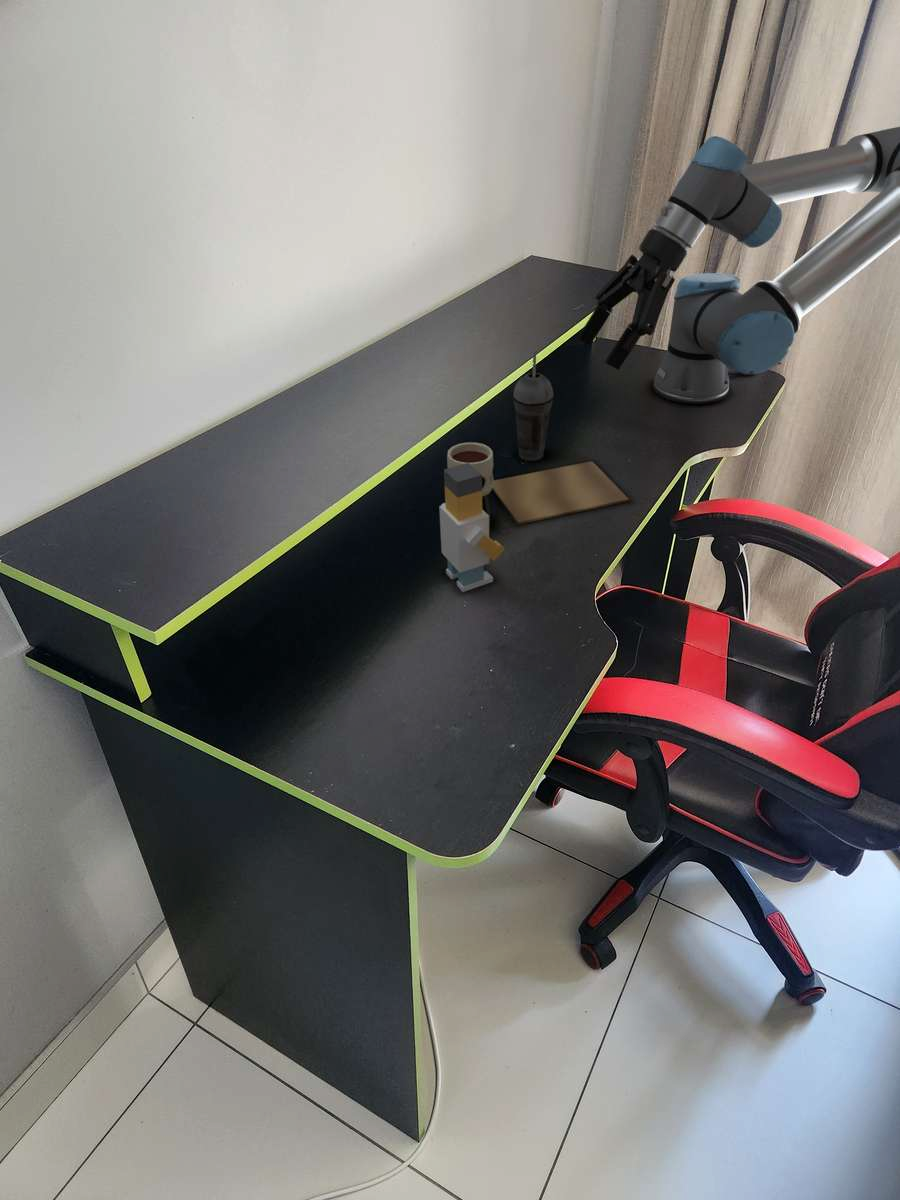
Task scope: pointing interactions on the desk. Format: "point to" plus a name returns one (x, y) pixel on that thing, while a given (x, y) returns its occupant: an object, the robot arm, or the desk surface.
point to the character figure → (466, 528)
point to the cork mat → (557, 492)
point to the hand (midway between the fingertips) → (596, 353)
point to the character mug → (475, 465)
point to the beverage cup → (532, 413)
